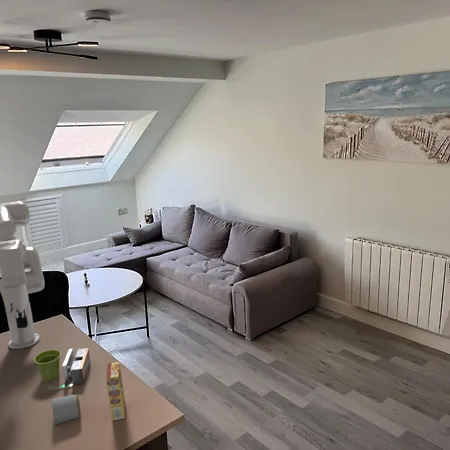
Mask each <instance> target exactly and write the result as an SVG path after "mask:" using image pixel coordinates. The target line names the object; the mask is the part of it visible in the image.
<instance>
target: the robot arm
mask: <svg viewBox="0 0 450 450" xmlns="http://www.w3.org/2000/svg"><path fill="white" fill-rule="evenodd" d="M30 216H31V215H30V209H29V206H28V205H27V204H26V203H25V202H24V201H21V200H20V201H12V202H11V201H10V202H4V203H3V202H1V203H0V277H1V278H0V294H1V296H2V301H3V303H4V307H5V313H6V317H7V319H6V320H7V323H8V329H9V334H10V340H9V341H8V343H7V344H8V348H10V349H11V350H22V349H26V348H29V347H31V346H34V345H35V344H37V343H38V342H39V341H40V338H41V337H40V334H38V333H36V331H35V325H34V321H33V313H32V308H31V303H30V301H29V300H30V299H29V294H33V293H37V292H41V291H42V290H44V288H45V277H44V274H43V268H42V264H41V259H40V256H39V252H38V250H37V249H36V247H33V246H26V243H25V242H23V240H21V239H17V238H16V237H15V234H16V232H17V228H19V227H20V228H21V227H25V226H27V225H29V222H30ZM26 270H27V271H26Z"/></svg>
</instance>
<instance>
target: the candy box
mask: <svg viewBox="0 0 450 450" xmlns="http://www.w3.org/2000/svg"><path fill="white" fill-rule="evenodd" d="M105 381H106V388H107V394H108V401H109V407H110V414H111V421H112V422H113V421H117V420H118V421H119V420H124V419H125V418H126V417H125V416H126V399H125V393H124V385H123V384H124V383H123V379H122V371H121V362H120V361H117V362H116V361H115V362H109V363H107V366H106V377H105Z"/></svg>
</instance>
